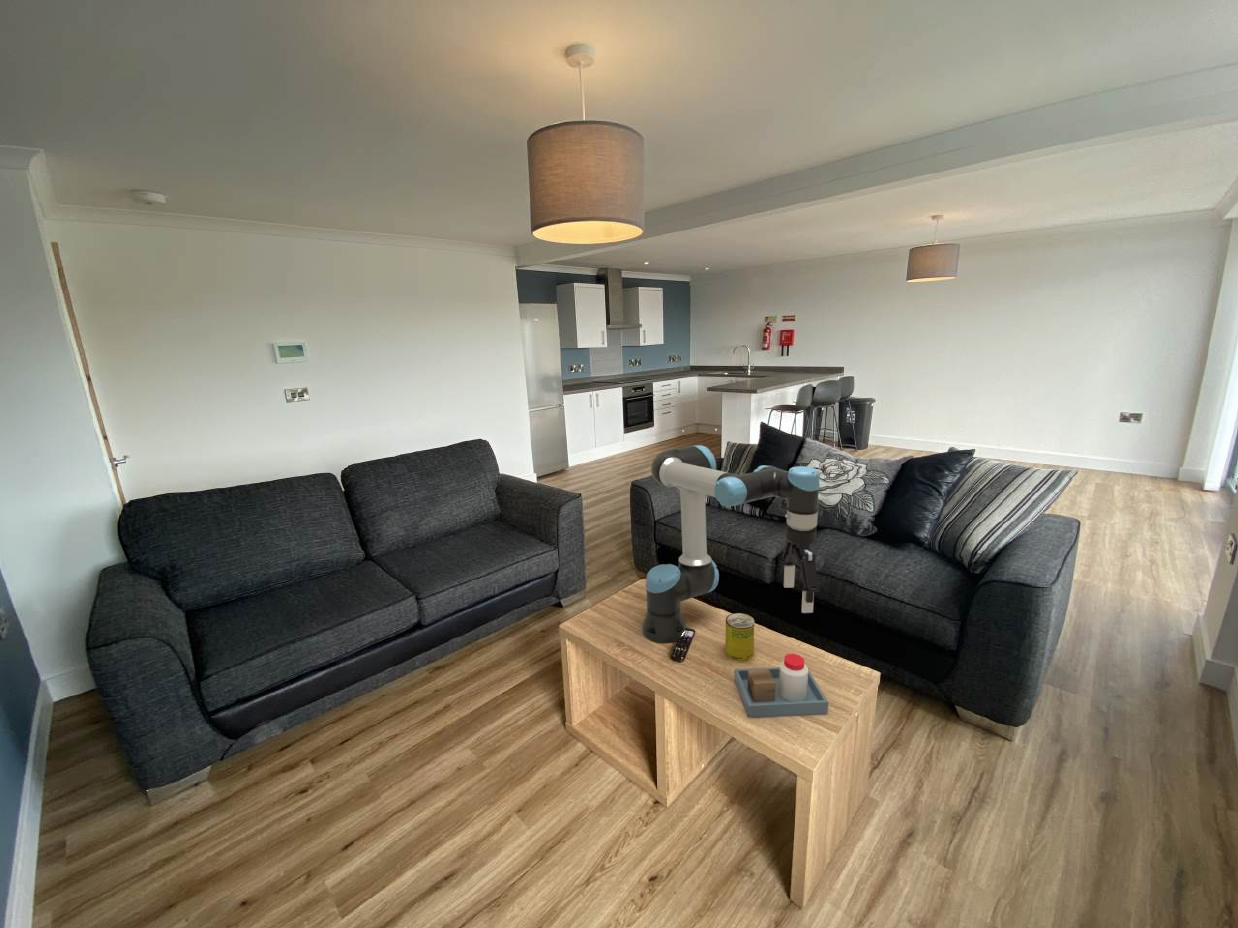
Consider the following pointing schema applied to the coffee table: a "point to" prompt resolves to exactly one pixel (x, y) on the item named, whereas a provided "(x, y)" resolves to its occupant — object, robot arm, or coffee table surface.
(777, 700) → the blue-grey tray
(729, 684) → the coffee table surface
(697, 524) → the robot arm
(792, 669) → the pill bottle
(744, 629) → the beverage can
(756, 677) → the walnut cube
